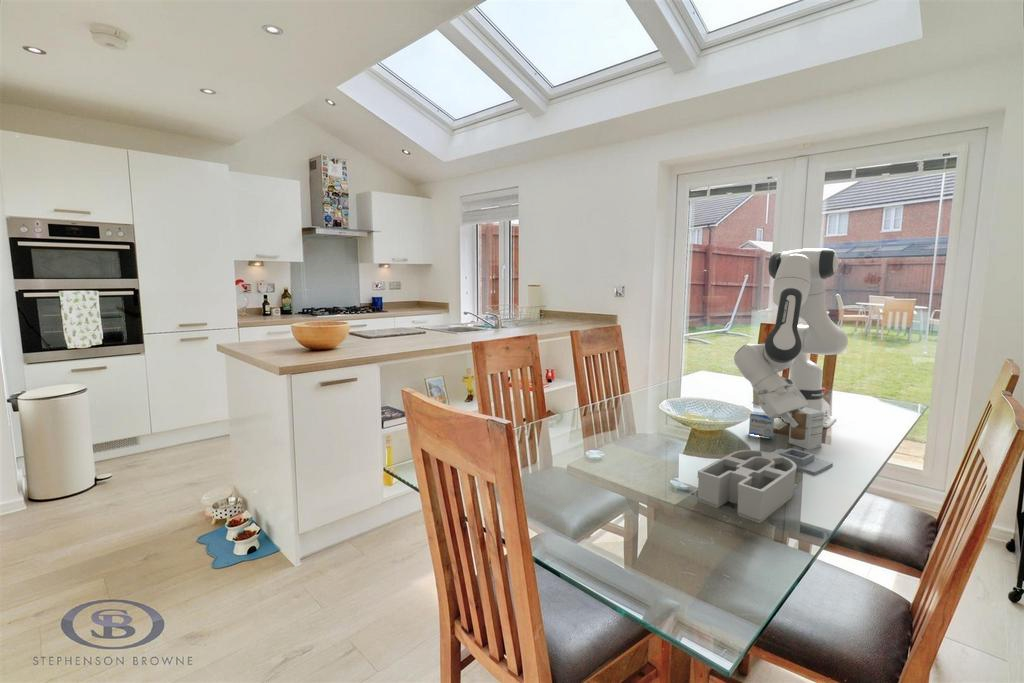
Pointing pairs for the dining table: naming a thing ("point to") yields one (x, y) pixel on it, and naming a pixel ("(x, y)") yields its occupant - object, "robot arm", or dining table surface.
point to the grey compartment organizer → (748, 483)
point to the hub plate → (804, 461)
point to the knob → (801, 428)
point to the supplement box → (811, 430)
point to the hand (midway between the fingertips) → (800, 424)
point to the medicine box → (761, 424)
